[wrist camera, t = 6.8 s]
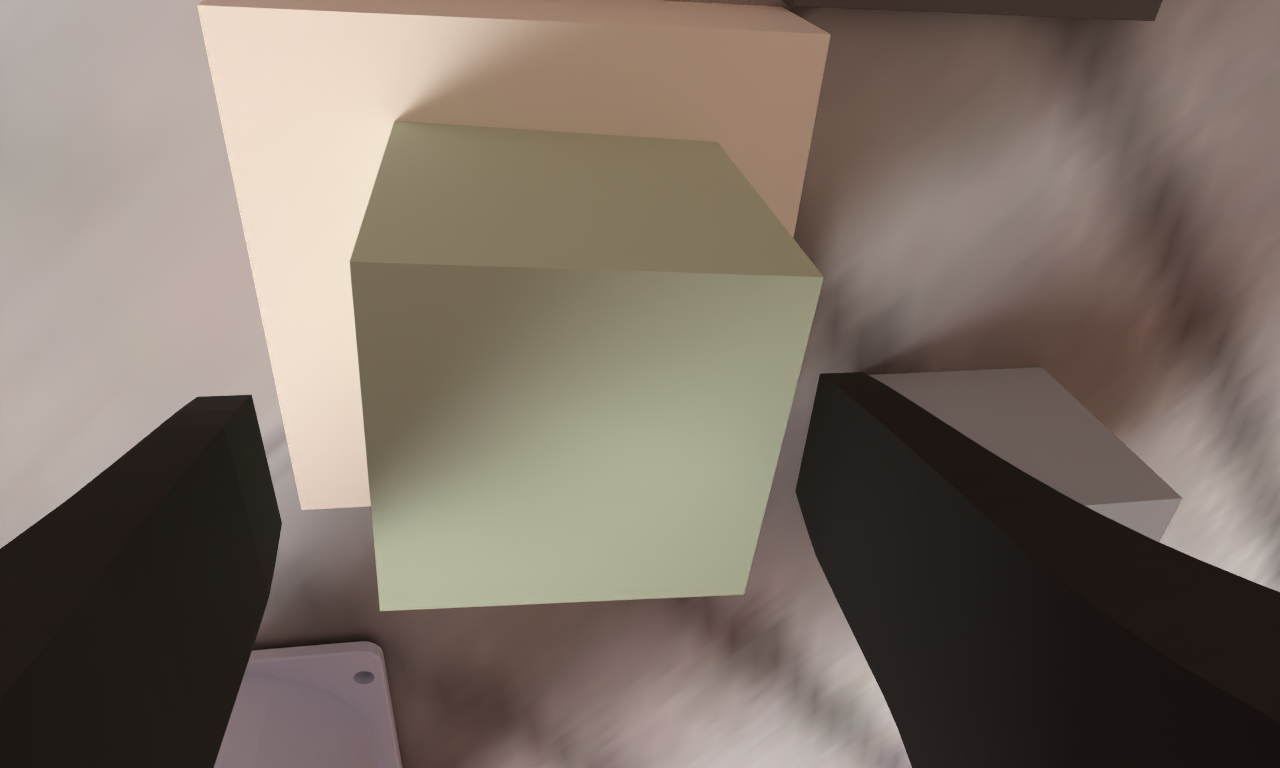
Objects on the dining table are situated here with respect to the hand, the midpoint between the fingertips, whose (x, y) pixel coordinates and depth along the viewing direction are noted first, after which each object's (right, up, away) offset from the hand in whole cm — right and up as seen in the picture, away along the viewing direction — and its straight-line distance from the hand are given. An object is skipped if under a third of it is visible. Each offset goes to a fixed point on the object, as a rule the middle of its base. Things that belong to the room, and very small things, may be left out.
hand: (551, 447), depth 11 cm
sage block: (0, +3, +3) cm, 4 cm away
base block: (-1, +4, +6) cm, 7 cm away
